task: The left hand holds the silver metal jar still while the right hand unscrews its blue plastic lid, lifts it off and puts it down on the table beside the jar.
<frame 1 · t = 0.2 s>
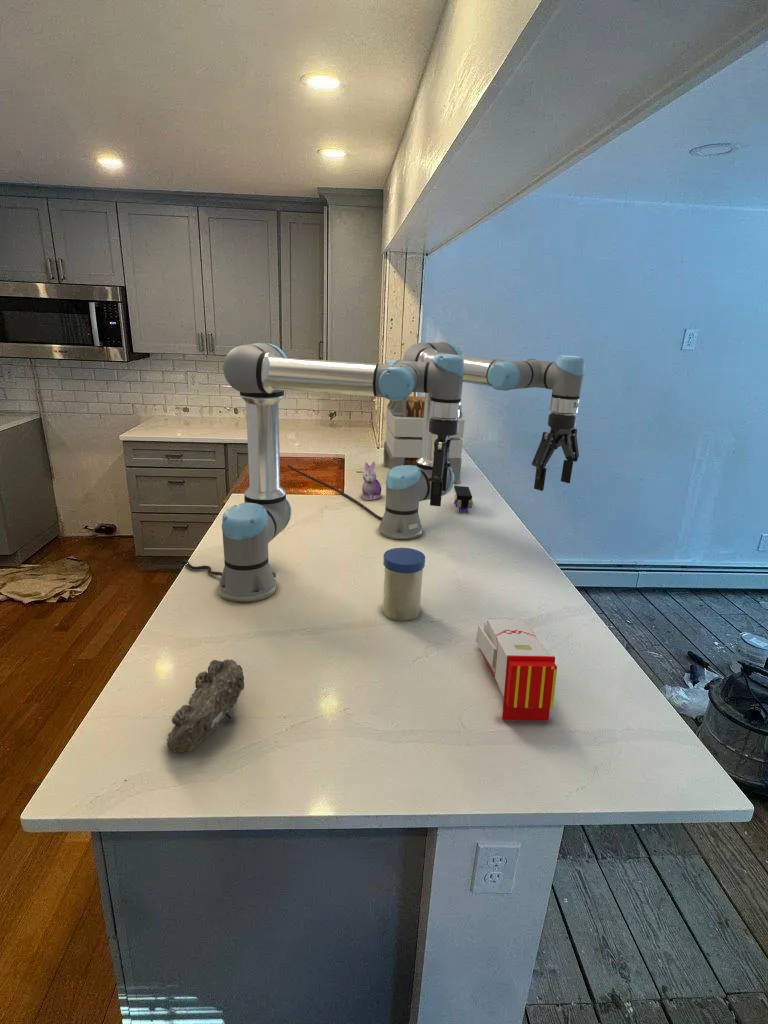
left hand: (438, 497, 151), 28 cm above the counter, tool pointing down, fingers open, 13 cm apart
right hand: (552, 485, 166), 28 cm above the counter, tool pointing down, fingers open, 13 cm apart
jar: (401, 611, 149), on the counter
fossil: (212, 717, 108), on the counter
figurine character: (461, 508, 229), on the counter
lid: (404, 557, 144), point 16 cm above the counter, screwed on, not yet turned
figurine: (371, 497, 237), on the counter
toy: (508, 678, 123), on the counter
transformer: (419, 473, 275), on the counter
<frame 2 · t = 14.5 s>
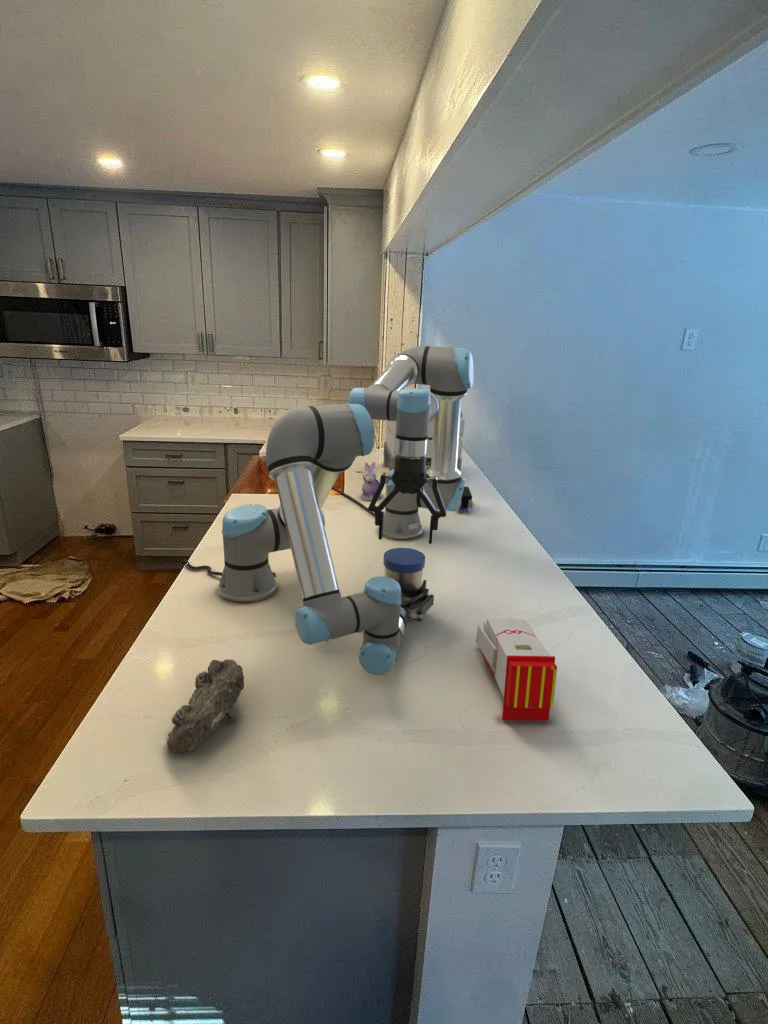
left hand: (405, 582, 151), 6 cm above the counter, tool horizontal, fingers closed on jar, 10 cm apart
right hand: (405, 539, 142), 20 cm above the counter, tool pointing down, fingers open, 12 cm apart
jar: (401, 611, 149), on the counter, touching left hand
everything else where it was.
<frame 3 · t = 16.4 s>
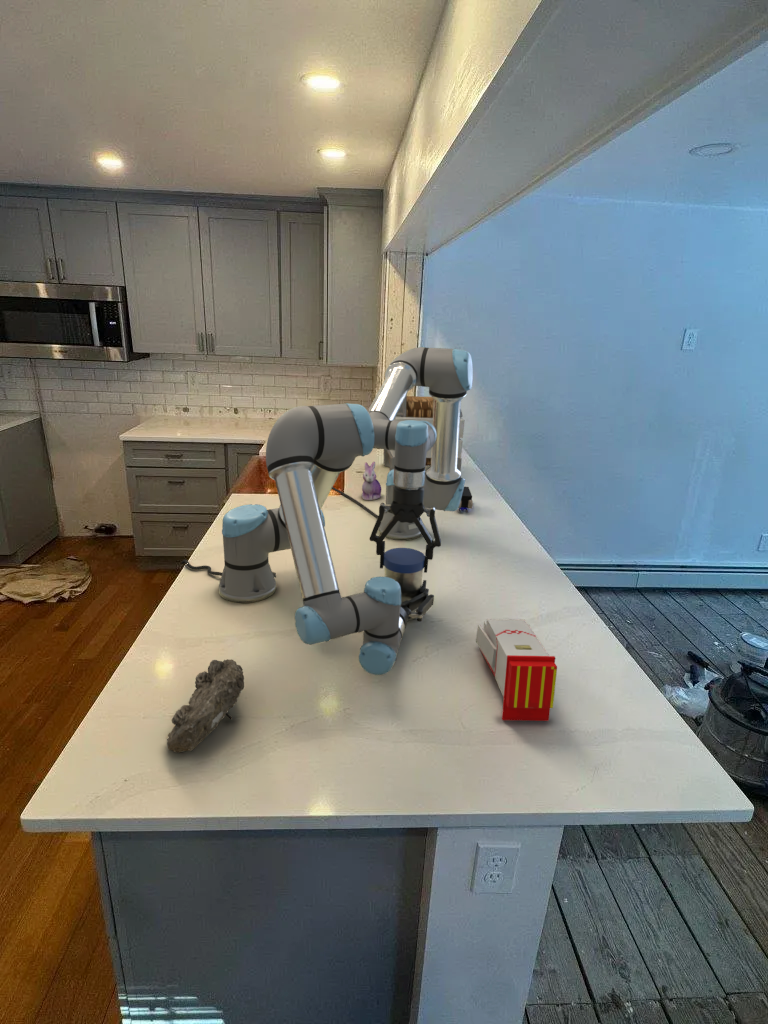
left hand: (405, 582, 151), 6 cm above the counter, tool horizontal, fingers closed on jar, 10 cm apart
right hand: (403, 568, 145), 12 cm above the counter, tool pointing down, fingers closed on lid, 10 cm apart
jar: (401, 611, 149), on the counter, touching left hand
lid: (404, 557, 144), point 16 cm above the counter, screwed on, not yet turned, touching right hand
everything else where it was.
when the right hand's fingers open (13 cm above the counter, at t = 17.9 s): lid stays where it is, point 16 cm above the counter.
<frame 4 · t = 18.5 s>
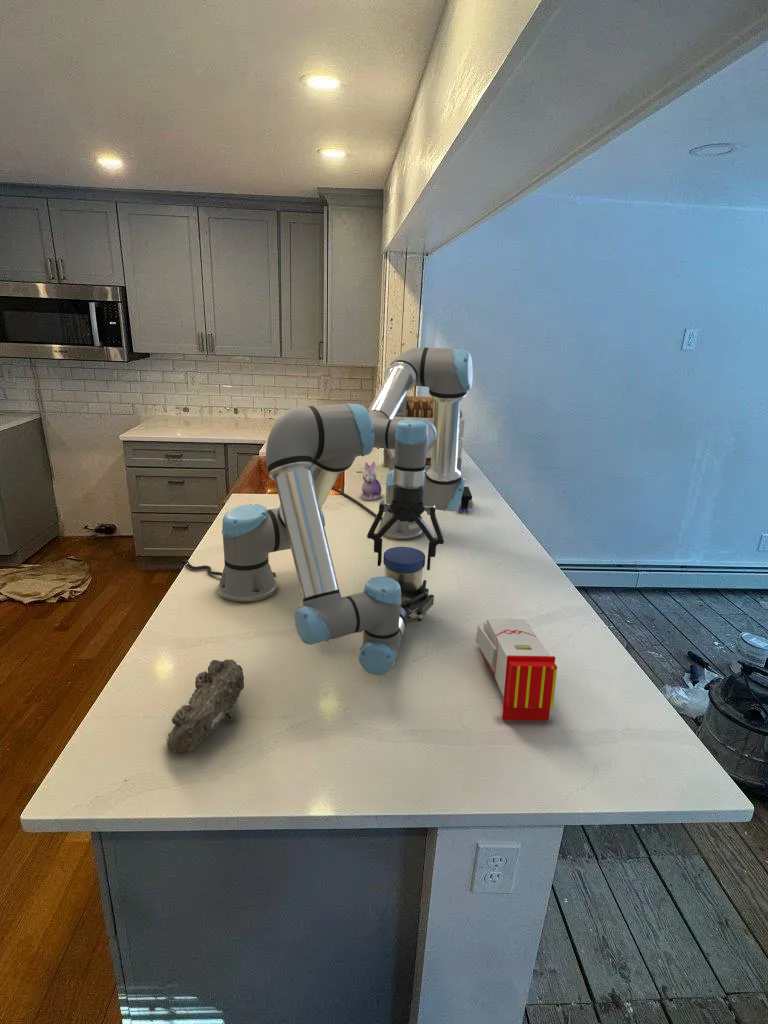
left hand: (405, 582, 151), 6 cm above the counter, tool horizontal, fingers closed on jar, 10 cm apart
right hand: (403, 565, 145), 13 cm above the counter, tool pointing down, fingers open, 12 cm apart
jar: (401, 611, 149), on the counter, touching left hand
lid: (404, 556, 144), point 16 cm above the counter, turned 84° so far, risen 0.3 cm, still on its thread
everything else where it was.
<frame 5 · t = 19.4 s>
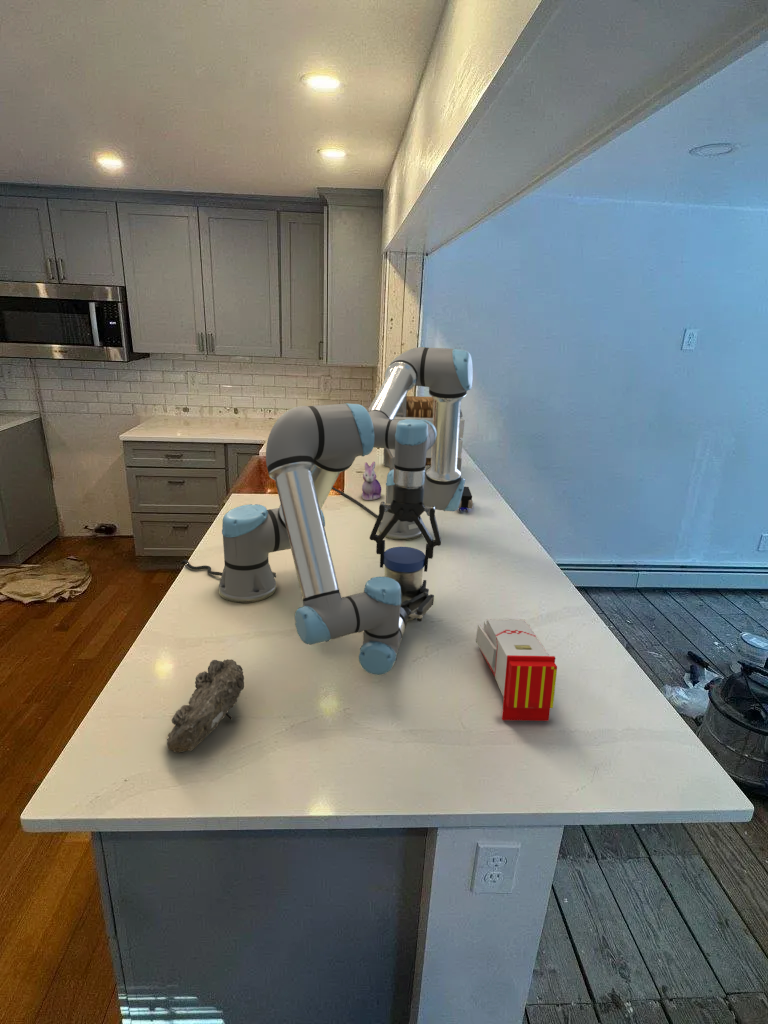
left hand: (405, 582, 151), 6 cm above the counter, tool horizontal, fingers closed on jar, 10 cm apart
right hand: (403, 567, 145), 13 cm above the counter, tool pointing down, fingers closed on lid, 10 cm apart
jar: (401, 611, 149), on the counter, touching left hand
lid: (404, 556, 144), point 16 cm above the counter, turned 84° so far, risen 0.3 cm, still on its thread, touching right hand
everything else where it was.
when the right hand's fingers open (0 cm above the counter, at t = 26.0 s): lid drops 2 cm, point 2 cm above the counter.
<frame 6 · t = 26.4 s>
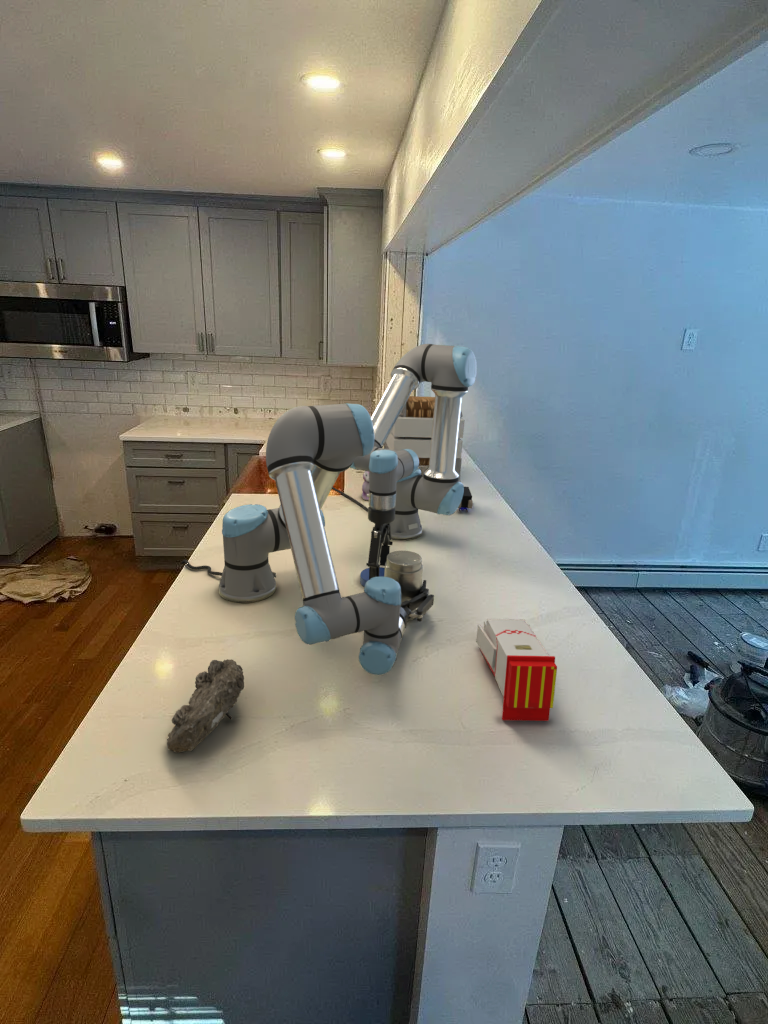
left hand: (405, 582, 151), 6 cm above the counter, tool horizontal, fingers closed on jar, 10 cm apart
right hand: (379, 575, 164), 2 cm above the counter, tool pointing down, fingers open, 13 cm apart
jar: (401, 611, 149), on the counter, touching left hand
lid: (378, 575, 164), point 2 cm above the counter, off its thread
everything else where it was.
when the left hand's fingers open (6 cm above the counter, at t = 27.1 s): jar stays where it is, on the counter.
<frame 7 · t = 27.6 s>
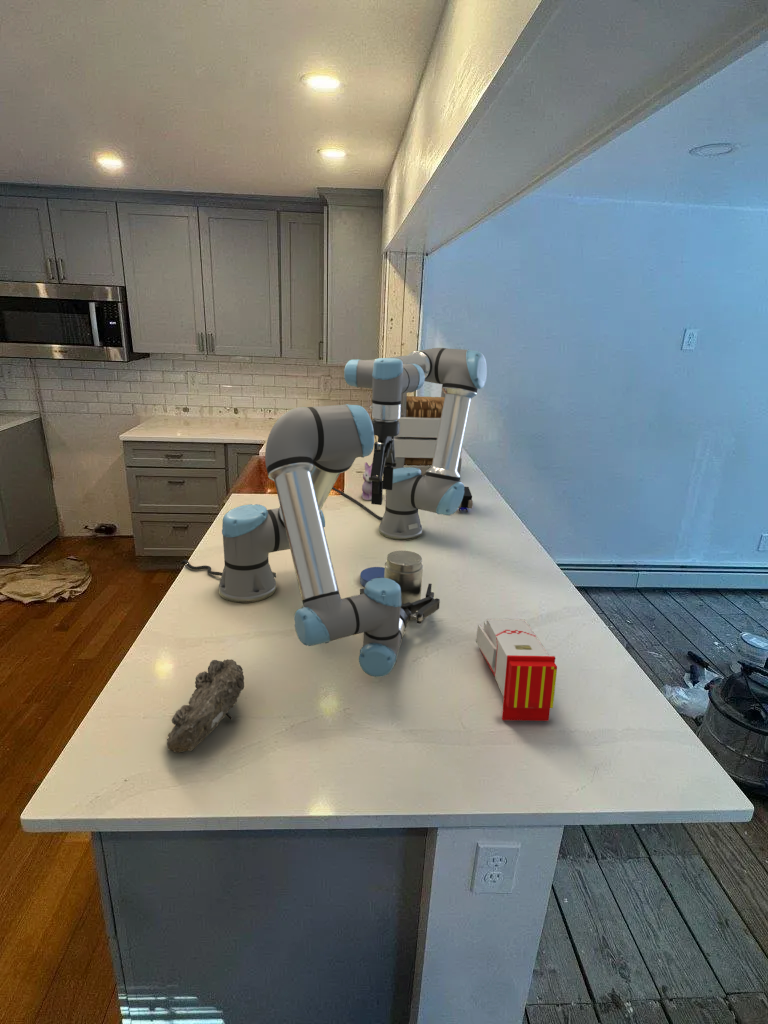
left hand: (404, 584, 149), 6 cm above the counter, tool horizontal, fingers open, 13 cm apart
right hand: (382, 496, 155), 26 cm above the counter, tool pointing down, fingers open, 13 cm apart
jar: (401, 611, 149), on the counter
everything else where it was.
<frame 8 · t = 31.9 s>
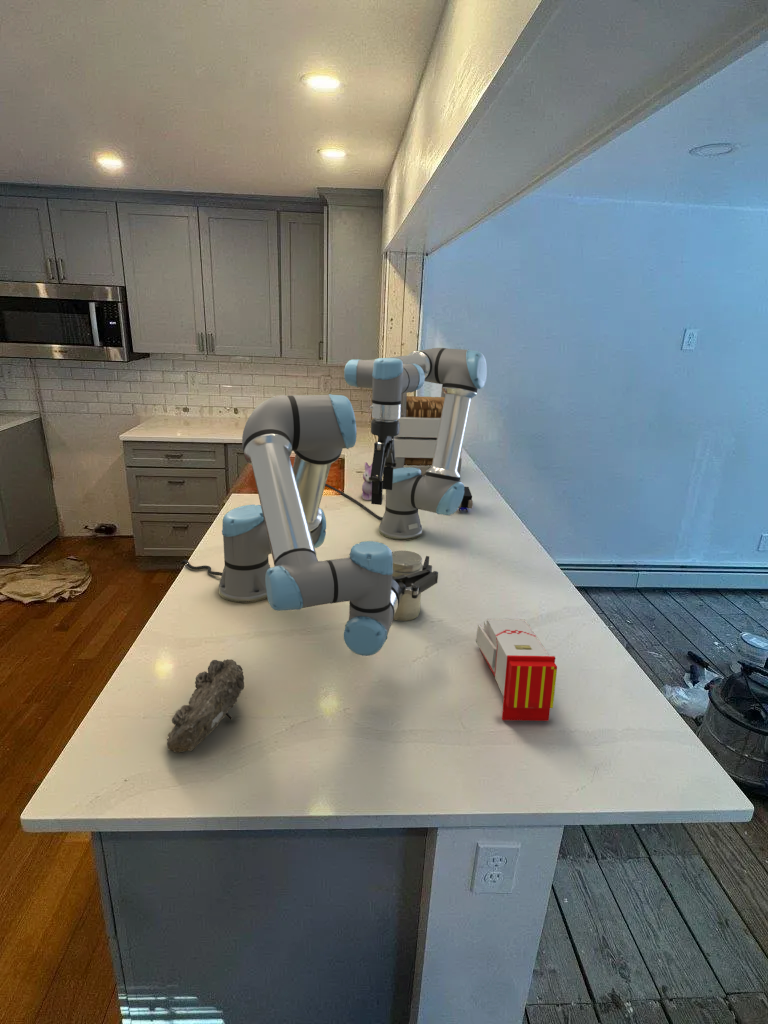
left hand: (398, 557, 133), 20 cm above the counter, tool horizontal, fingers open, 13 cm apart
right hand: (382, 496, 155), 26 cm above the counter, tool pointing down, fingers open, 13 cm apart
nothing on the counter moved.
at the end: lid came off its thread; lid point 2.0 cm above the counter; the left hand is holding nothing; the right hand is holding nothing; jar tilted 0°; jar moved 0.0 cm from its start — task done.
